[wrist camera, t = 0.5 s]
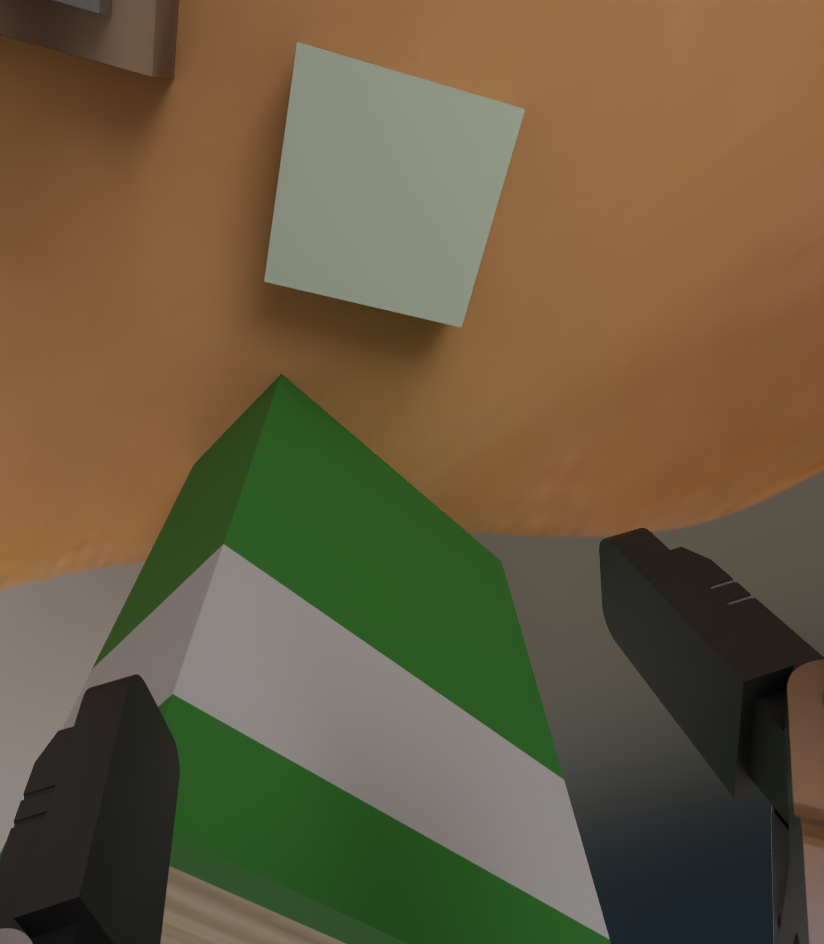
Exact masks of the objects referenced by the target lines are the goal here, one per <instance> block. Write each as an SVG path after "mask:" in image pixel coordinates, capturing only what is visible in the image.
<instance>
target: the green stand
mask: <svg viewBox="0 0 824 944" xmlns="http://www.w3.org/2000/svg"><path fill="white" fill-rule="evenodd" d="M524 112H525V109H522V108H519V107H516V106H512V105H509V104H506V103H502V102H499V101H495V100H492V99H489V98H485V97H482V96H479V95H475V94H472V93H468V92H465V91H462V90H458V89H455V88H452V87H448V86H445V85H441V84H438V83H435V82H431V81H428V80H425V79H421V78H418V77H414V76H411V75H408V74H404V73H401V72H398V71H394V70H391V69H387V68H384V67H381V66H377V65H374V64H371V63H367V62H364V61H360V60H357V59H354V58H350V57H347V56H344V55H340V54H337V53H333V52H330V51H327V50H323V49H320V48H316V47H313V46H310V45H306V44H303V43H300V42H297V47H296V54H295V61H294V68H293V76H292V83H291V90H290V97H289V105H288V112H287V119H286V126H285V134H284V141H283V148H282V155H281V163H280V170H279V177H278V184H277V192H276V199H275V206H274V214H273V221H272V228H271V235H270V243H269V250H268V257H267V264H266V272H265V279H264V282H268V283H272V284H276V285H281V286H285V287H289V288H294V289H298V290H302V291H306V292H311V293H315V294H319V295H324V296H328V297H332V298H337V299H341V300H345V301H349V302H354V303H358V304H362V305H367V306H371V307H375V308H379V309H384V310H388V311H392V312H397V313H401V314H405V315H409V316H414V317H418V318H422V319H427V320H431V321H435V322H440V323H444V324H448V325H452V326H457V327H461V328H462V325H463V321H464V318H465V314H466V311H467V307H468V304H469V301H470V297H471V294H472V290H473V287H474V283H475V280H476V277H477V273H478V270H479V266H480V263H481V259H482V256H483V253H484V249H485V246H486V242H487V239H488V235H489V232H490V228H491V225H492V222H493V218H494V215H495V211H496V208H497V204H498V201H499V198H500V194H501V191H502V187H503V184H504V180H505V177H506V173H507V170H508V167H509V163H510V160H511V156H512V153H513V149H514V146H515V143H516V139H517V136H518V132H519V129H520V125H521V122H522V119H523V115H524Z"/></svg>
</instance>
